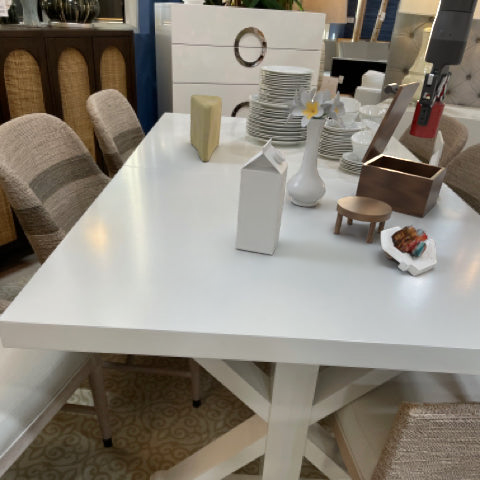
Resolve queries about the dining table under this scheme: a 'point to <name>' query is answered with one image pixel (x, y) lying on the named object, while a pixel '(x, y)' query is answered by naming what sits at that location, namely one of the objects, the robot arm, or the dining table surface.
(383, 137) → the lid
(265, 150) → the milk carton
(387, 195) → the chest
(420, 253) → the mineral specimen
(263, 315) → the dining table surface
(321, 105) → the flower vase
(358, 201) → the stool
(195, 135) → the cheese
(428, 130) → the can
